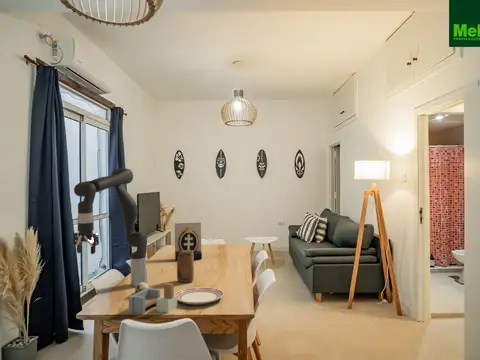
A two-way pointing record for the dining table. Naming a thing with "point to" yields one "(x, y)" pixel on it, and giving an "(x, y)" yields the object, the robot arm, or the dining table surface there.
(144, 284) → the skull
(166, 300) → the green and brown blocks
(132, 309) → the board
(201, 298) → the dinner plate
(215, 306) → the dining table surface
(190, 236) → the decorative plaque
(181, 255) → the block
